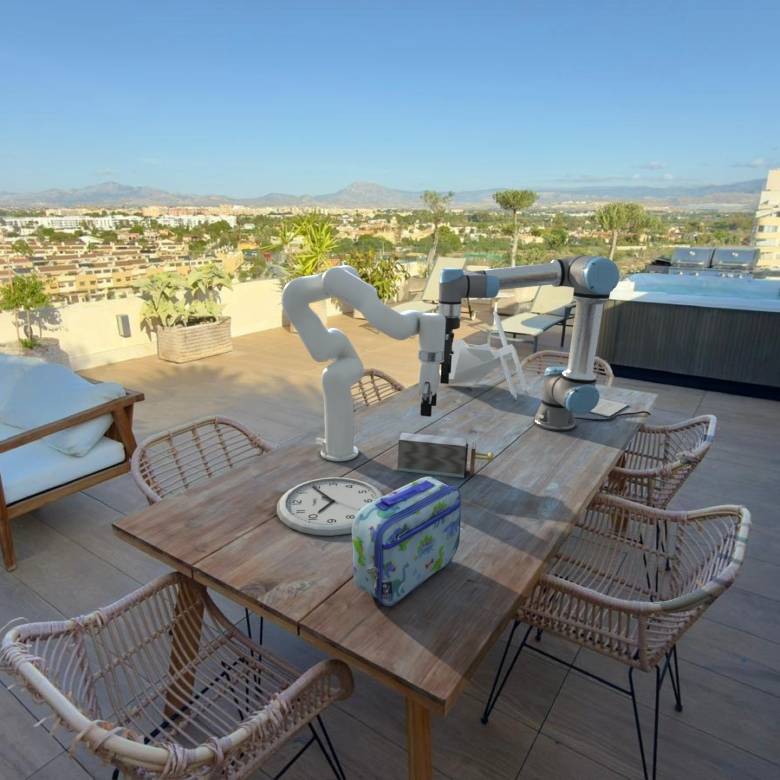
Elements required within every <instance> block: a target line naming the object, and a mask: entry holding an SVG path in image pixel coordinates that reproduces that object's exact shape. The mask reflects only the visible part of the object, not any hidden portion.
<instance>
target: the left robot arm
mask: <svg viewBox="0 0 780 780" xmlns="http://www.w3.org/2000/svg"><path fill="white" fill-rule="evenodd" d="M332 298H336V299H338V300H339V301H341V302H342V303H345V304H346V305H347V306H349V307H351V308H352V309H354V310H356V311H358V312H359V313H360V314H361V315H362V317H363V318H364V319H365V320H366V321H367V322H368V323H369V324H370V326H372V327H373V328H375V330H377V331H379V332H381V333H383V334H384V335H386V336H387V337H389V338H391V339H394V340H396V341H404V340H407V339H409V338H411V337H413V336H414V337H415V336H417V335H418V353H417V361H418V362H420V366H419V374H418V385H417V387H418V388H417V394H418V395H419V396H421V401H420V411H419V412H420V416H421V417H429V418H431V417H432V409H433V407H436V406H437V399H438V398H437V397H438V394H437V391H438V389H439V383H440V372H439V370H440V369H441V364H440V363H442V362H443V361H444V344H445V326H446V319H445V316H444V315H442V314H439V313H438V312H423V311H419V310H415V309H407V310H404V311H401V312H398V311H397V310H395V309H393V308H391V307H390V306H388V305H387V304H385V303H384V302H382V300H381V299H380V297H379V296H378V290H377V289H376V287H374V286H373V285H371V284H370V283H368V282H366V281H364V280H362V279H361V276H360V273H359V272H358V270H357V269H356V268H355V267H353V266H351V265H336V266H332V267H329V268H327V270H326V271H324V272H321V273H317V274H313V275H305V276H299V277H295V278H293V279H291V280H290V281H288V282H287V283H286V285H285V286H284V287H283V289H282V293H281V306H282V307H281V308H282V309H283V312H284V314H285V316H286V318H287V319H288V321H289V322H290V323H291V325H292V326H293V328H294V330H295V331H296V332H297V335H298V337H299V339H300V340H301V342H302V343H303V345H304V347H305V349H306V351H307V352H308V354H309V356H310V357H311V358H312V359H313V361H315V362H317V363H324V362H325V363H326V362H328V361H331V362H332V363H329V365H327V366H326V367H325V368H324V369H323V371H322V373H321V375H320V384H321V389H322V394H323V395H322V396H323V406H324V408H323V409H324V410H323V411H324V412H323V413H324V438H321V437H316V438H315V446H316V447H321V450H320V456H321V457H322V458H323V459H324V460H326V461H330V462H347V461H351V460H353V459H356V457H358V456H359V448H358V447H357V446H355V433H354V432H355V408H354V397H353V393H352V389H351V388H352V387H353V386H354V385H356V384H357V383H359V382H360V381H361V380H362V379H363V378H364V376H365V367H364V364H363V361H362V359H361V358H360V356H359V354H358V352H357V351H356V349H355V347H354V346H353V344H352V343H351V341H350V339H349V337H348V335H346V333H344V332H343V331H342V330H340V329H338V328H335V327H331V328H326V326H325V324H324V323H323V321H322V320H321V318H320V316H319V314H318V313H316V311H315V310H314V309H312V308H311V307H310V304H314V303H318V302H321V301H322V302H323V301H324V300H328V299H332Z"/></svg>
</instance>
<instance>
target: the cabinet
mask: <svg viewBox="0 0 780 780" xmlns="http://www.w3.org/2000/svg"><path fill="white" fill-rule="evenodd" d="M467 443H468V438H464V437H463V438H462V437H451V436H444V435H443V436H442V435H432V434H422V433H421V434H419V433H410V432H401V434H400V436H399V438H398V449H397V452H398V453H397V471H398V472H407V473H408V472H409V473H415V474H424V475H425V474H427V475H435V476H444V477H445V476H446V477H453V478H462V479H463V478H465V473H464V469H465V454H466V444H467Z"/></svg>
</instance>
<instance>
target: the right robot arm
mask: <svg viewBox="0 0 780 780" xmlns="http://www.w3.org/2000/svg"><path fill="white" fill-rule="evenodd" d="M619 281H620V270H619V268H618V266H617V264H616V263H615V262H614V261H613V260H612V259H610V258H608V257H604V256H600V255H599V256H596V255H587V254H580V255H574V256H569V257H564V258H557V259H553V260H552V261H551V262H547V263H538V264H528V265H527V264H526V265H519V266H518V265H517V266H511V267H501V268H500V267H499V268H490V269H489V268H488V269H482V270H481V269H479V270H464V269H463V268H459V267H444V268H441V270H440V272H439V281H438V305H436V307H435V308H436V309H437V313H439V314H442V315H444V316H445V319H446V326H445V344H444V361H443V362H442V363H440V370H441V376H440V378H439V383H440V384H444V385H445V384H449V373H451V361H452V355H451V354H454V351H452V348H453V344H454V339H455V332H454V331H453V330H458V329H460V327H461V317H460V316H461V315H462V300H463V299H486V300H488V299H495V298H496V297H497V296H498V294H499V291H502V290H511V289H522V288H531V287H541V286H542V287H543V286H550V285H551V286H552V287H554V288H558V287H566V288H573V294H572V297H573V298H574V300H575V301H576V306H575V311H574V319H573V326H572V333H571V339H570V340H571V341H570V347H569V354H568V359H567V366H549V367H547V368H545V370H544V373H543V381H542V382H543V383H542V394H541V402H540V405H539V407H538V410H537V411H536V413H535V416H534V424H535V425H536V426H537V427H539V428H542V429H544V430H549V431H556V432H567V431H572V430H574V429H575V428H576V420H583V421H592V422H593V421H594V422H606V421H612V420H614V419H616V418H617V417H621V416H629V415H639V414H648V416H652V414H651V413H650V412H649V411H646V410H640V411H634V412H624V413H619V414H616V415H614V416H612V417H608V418H589V417H580V416H579V417H577V416H575V415H586V414H588V413H591V412H590V411H591V410H592V409H594V408H595V407H596V406H597V404H598V402H599V398H601V396H600V391H599V390H598V388H597V387H596V384H597V375H596V374H595V373H594V366H595V360H596V355H597V347H598V342H599V341H598V340H599V334H600V329H601V322H602V316H603V308H604V304H605V303H607V302H608V301H609V300H610V297H611V293H612V292H613V291H614V289H616V288H617V286H618V285H619Z"/></svg>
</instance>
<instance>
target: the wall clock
mask: <svg viewBox="0 0 780 780" xmlns="http://www.w3.org/2000/svg"><path fill="white" fill-rule="evenodd" d="M383 496H385V494H384V493H383V492H382V491H381V490H380V489H379V488H377V487H376V486H374V485H372V484H371V483H369V482H365V481H362V480H359V479H355V478H349V477H338V476H337V477H335V476H333V477H332V476H331V477H322V478H317V479H312V480H307V481H305V482H302V483H299V484H297V485H295V486H293V487H292V488H290V489H288V490H287V491H286V492H285V493H284V494H283V495H281V496H280V498H279V499H278V502H277V503H276V515H277V517H278V518H279V520H280V521H281V522H282V523H283V524H285V525H286V526H287V527H288V528H290V529H293V530H295V531H297V532H299V533H303V534H308V535H312V536H327V537H328V536H329V537H331V536H332V537H333V536H342V535H350V534H352V526H353V521H354V518H355V516H356V515H357V513H358V512H359V510H360V509H361V508H362V507H364V506H365V505H367V504H369V503H371V502H373V501H375V500H377V499H379V498H381V497H383Z"/></svg>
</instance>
